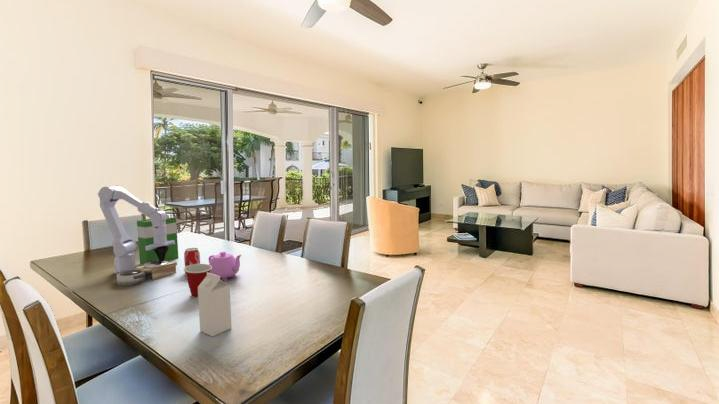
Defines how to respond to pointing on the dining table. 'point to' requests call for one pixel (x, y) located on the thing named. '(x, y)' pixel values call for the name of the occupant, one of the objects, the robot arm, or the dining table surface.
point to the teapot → (224, 265)
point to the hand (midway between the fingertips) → (161, 261)
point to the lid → (155, 264)
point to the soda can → (191, 256)
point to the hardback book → (147, 239)
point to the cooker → (130, 277)
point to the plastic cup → (196, 276)
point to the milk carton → (214, 305)
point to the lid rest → (159, 270)
